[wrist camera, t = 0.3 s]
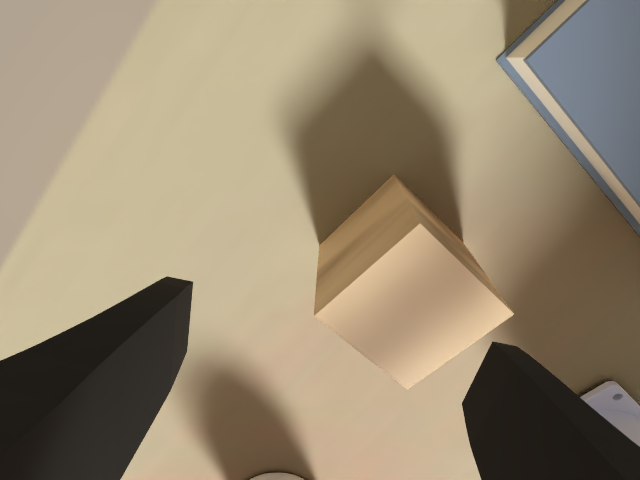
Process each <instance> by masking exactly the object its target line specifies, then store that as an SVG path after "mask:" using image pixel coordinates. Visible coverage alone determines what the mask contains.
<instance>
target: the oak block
mask: <svg viewBox="0 0 640 480" xmlns="http://www.w3.org/2000/svg"><path fill="white" fill-rule="evenodd" d="M513 315H514V313H513V312H512V310H511V309H510V307H509V306H508V305H507V303H506V302H505V300H504V299H503V298H502V296H501V295H500V293H499V292H498V291H497V289H496V288H495V286H494V285H493V284H492V282H491V281H490V279H489V278H488V277H487V275H486V274H485V272H484V271H483V270H482V268H481V267H480V265H479V264H478V263H477V261H476V260H475V259H474V257H473V256H472V254H471V253H470V252H469V250H468V249H467V247H466V246H465V245H464V243H463V242H462V241H461V240H460V239H459V238H458V237H457V236H456V235H455V234H454V233H453V232H452V231H451V230H450V229H449V228H448V227H447V226H446V225H445V224H444V223H443V222H442V221H441V220H440V219H439V218H438V217H437V216H436V215H435V214H434V213H433V212H432V211H431V210H430V209H429V208H428V207H427V206H426V205H425V204H424V203H423V202H422V201H421V200H420V199H419V198H417V197H416V196H415V195H414V194H413V193H412V192H411V191H410V190H409V189H408V188H407V187H406V186H405V185H404V184H403V183H402V182H401V181H400V180H399V179H398V178H397V177H396V176H395V175H394V174H393V175H392V176H391V177H390V178H389V179H388V180H387V181H386V182H385V183H384V184H383V185H382V186H381V187H380V188H379V189H378V190H377V191H376V192H375V193H374V194H373V195H371V196H370V197H369V198H368V199H367V200H366V201H365V202H364V203H363V204H362V205H361V206H360V207H359V208H358V209H357V210H356V211H355V212H354V213H353V214H352V215H351V216H350V217H348V218H347V219H346V220H345V221H344V222H343V223H342V224H341V225H340V226H339V227H338V228H337V229H336V230H335V231H334V232H333V233H332V234H331V235H330V236H329V237H328V238H327V239H325V240H324V241H323V242H322V243H321V244H320V245H319V257H318V269H317V282H316V295H315V308H314V317H315V318H317V319H318V320H319V321H320V322H322V323H323V324H324V325H326V326H327V327H328V328H329V329H331V330H332V331H333V332H334V333H336V334H337V335H338V336H340V337H341V338H342V339H343V340H345V341H346V342H347V343H348V344H350V345H351V346H352V347H354V348H355V349H356V350H357V351H359V352H360V353H361V354H362V355H364V356H365V357H366V358H368V359H369V360H370V361H371V362H373V363H374V364H375V365H376V366H378V367H379V368H380V369H382V370H383V371H384V372H385V373H387V374H388V375H389V376H390V377H392V378H393V379H394V380H396V381H397V382H398V383H399V384H401V385H402V386H403V387H404V388H406V389H407V390H408V389H409V388H410V387H412V386H413V385H415V384H416V383H417V382H419V381H420V380H422V379H423V378H425V377H426V376H427V375H429V374H430V373H432V372H433V371H435V370H436V369H437V368H439V367H440V366H442V365H443V364H444V363H446V362H447V361H449V360H450V359H452V358H453V357H454V356H456V355H457V354H459V353H460V352H461V351H463V350H464V349H466V348H467V347H469V346H470V345H471V344H473V343H474V342H476V341H477V340H479V339H480V338H481V337H483V336H484V335H486V334H487V333H488V332H490V331H491V330H493V329H494V328H496V327H497V326H498V325H500V324H501V323H503V322H504V321H505V320H507V319H508V318H510V317H511V316H513Z"/></svg>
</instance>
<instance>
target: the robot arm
mask: <svg viewBox="0 0 640 480" xmlns="http://www.w3.org/2000/svg"><path fill="white" fill-rule="evenodd" d="M192 288H193V282H192V281H187V280H182V279H176V278H171V277H165V278H163V279H161V280H159V281H157V282H155V283H154V284H152V285H150V286H148V287H147V288H145V289H143V290H141V291H140V292H138V293H136V294H134V295H132V296H131V297H129V298H127V299H125V300H124V301H122V302H120V303H118V304H116V305H114V306H113V307H111V308H109V309H107V310H105V311H103V312H102V313H100V314H98V315H96V316H94V317H92V318H90V319H89V320H86V321H84V322H82V323H80V324H78V325H76V326H74V327H72V328H70V329H68V330H66V331H64V332H62V333H60V334H58V335H56V336H54V337H52V338H50V339H48V340H46V341H44V342H42V343H40V344H38V345H35V346H33V347H31V348H29V349H27V350H24V351H22V352H20V353H17V354H15V355H13V356H10V357H8V358H6V359H4V360H1V361H0V480H120V479H121V477H122V476H123V474H124V472H125V470H126V469H127V467H128V465H129V463H130V461H131V460H132V458H133V456H134V454H135V453H136V451H137V449H138V447H139V446H140V444H141V442H142V440H143V439H144V437H145V435H146V433H147V432H148V430H149V428H150V426H151V425H152V423H153V421H154V419H155V417H156V416H157V414H158V412H159V410H160V408H161V407H162V405H163V403H164V401H165V400H166V398H167V396H168V394H169V392H170V390H171V388H172V386H173V384H174V381H175V379H176V377H177V374H178V372H179V369H180V367H181V364H182V362H183V360H184V357H185V355H186V352H187V346H188V334H189V322H190V311H191V299H192ZM462 406H463V412H464V417H465V423H466V428H467V432H468V437H469V442H470V446H471V449H472V452H473V455H474V458H475V461H476V464H477V467H478V470H479V473H480V476H481V479H482V480H640V405H639V404H638V403H637V402H636V401H635V400H634V399H633V398H632V397H631V396H630V395H629V394H628V393H627V392H626V391H625V390H624V389H623V388H622V387H621V386H620V385H619V384H618V383H616V382H615V381H607V382H605V383H603V384H601V385H600V386H598V387H596V388H595V389H593V390H591V391H589V392H588V393H586V394H584V395H583V396H581V397H579V396H578V395H577V394H575V393H574V392H573V391H572V390H571V389H569V388H568V387H567V386H566V385H565V384H564V383H562V382H561V381H560V380H559V379H558V378H556V377H555V376H554V375H553V374H552V373H550V372H549V371H548V370H547V369H546V368H544V367H543V366H542V365H541V364H540V363H538V362H537V361H536V360H535V359H533V358H532V357H531V356H529V355H528V354H527V353H525V352H524V351H523V350H521V349H520V348H518V347H517V346H512V345H507V344H502V343H497V342H492V344H491V346H490V348H489V350H488V352H487V354H486V356H485V358H484V360H483V362H482V364H481V366H480V368H479V370H478V372H477V374H476V376H475V378H474V380H473V382H472V384H471V386H470V388H469V390H468V392H467V394H466V396H465V398H464V400H463V402H462Z"/></svg>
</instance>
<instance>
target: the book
mask: <svg viewBox="0 0 640 480" xmlns="http://www.w3.org/2000/svg"><path fill="white" fill-rule="evenodd" d="M496 61H497V62H498V63H499V65H500V66H501V67H502V68H503V70H504V71H505V72H506V73H507V74H508V76H509V77H510V78H511V79H512V81H513V82H514V83H515V84H516V85H517V87H518V88H519V89H520V90H521V92H522V93H523V94H524V95H525V97H526V98H527V99H528V100H529V101H530V103H531V104H532V105H533V106H534V108H535V109H536V110H537V111H538V112H539V114H540V115H541V116H542V117H543V119H544V120H545V121H546V122H547V124H548V125H549V126H550V127H551V128H552V130H553V131H554V132H555V133H556V135H557V136H558V137H559V138H560V139H561V141H562V142H563V143H564V144H565V146H566V147H567V148H568V149H569V150H570V152H571V153H572V154H573V155H574V157H575V158H576V159H577V160H578V162H579V163H580V164H581V165H582V166H583V168H584V169H585V170H586V171H587V173H588V174H589V175H590V176H591V177H592V179H593V180H594V181H595V182H596V184H597V185H598V186H599V187H600V189H601V190H602V191H603V192H604V193H605V195H606V196H607V197H608V198H609V200H610V201H611V202H612V203H613V204H614V206H615V207H616V208H617V209H618V211H619V212H620V213H621V214H622V215H623V217H624V218H625V219H626V220H627V222H628V223H629V224H630V225H631V227H632V228H633V229H634V230H635V231H636V233H637V234H638V235H639V236H640V0H557V1H556V2H555V3H554V4H553V5H552V6H551V7H550V8H549V9H548V10H547V11H546V12H545V13H544V14H543V15H542V16H541V17H540V18H539V19H538V20H537V21H536V22H534V23H533V24H532V25H531V26H530V27H529V28H528V29H527V30H526V31H525V32H524V33H523V34H522V35H521V36H520V37H519V38H518V39H517V40H516V41H515V42H514V43H513V44H512V45H511V46H510V47H509V48H508V49H507V50H506V51H505V52H504V53H503V54H502V55H501V56H500V57H499V58H497V59H496Z"/></svg>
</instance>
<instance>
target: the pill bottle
mask: <svg viewBox="0 0 640 480" xmlns="http://www.w3.org/2000/svg"><path fill="white" fill-rule="evenodd" d="M250 480H304V479H303V478H301V477H298V476H296V475H293V474H288V473H266V474H262V475H259V476H256V477H253V478H251V479H250Z"/></svg>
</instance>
